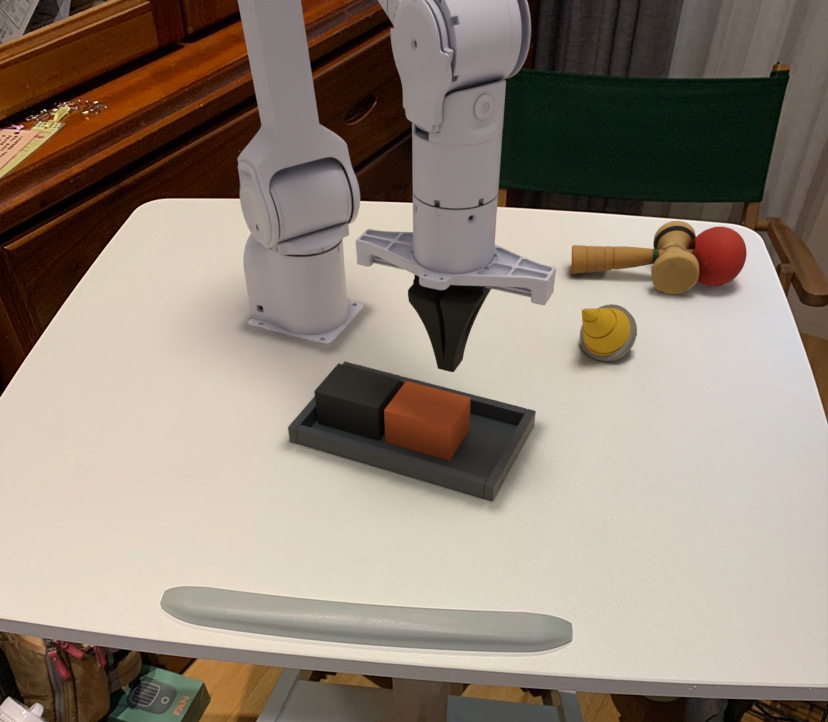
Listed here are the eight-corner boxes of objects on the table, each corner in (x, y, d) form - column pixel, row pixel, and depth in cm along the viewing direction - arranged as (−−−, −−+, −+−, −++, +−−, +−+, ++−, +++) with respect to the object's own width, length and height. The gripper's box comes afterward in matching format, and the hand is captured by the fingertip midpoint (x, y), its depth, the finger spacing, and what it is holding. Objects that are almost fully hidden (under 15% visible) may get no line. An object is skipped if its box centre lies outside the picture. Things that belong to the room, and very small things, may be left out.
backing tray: (290, 445, 71) (287, 427, 70) (346, 378, 78) (344, 360, 76) (492, 505, 66) (493, 487, 64) (533, 428, 72) (536, 410, 71)
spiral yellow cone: (646, 365, 80) (612, 332, 71) (593, 374, 82) (554, 344, 74) (645, 312, 80) (611, 273, 72) (593, 323, 83) (554, 287, 75)
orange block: (385, 442, 70) (383, 410, 68) (406, 413, 73) (406, 380, 71) (449, 461, 69) (450, 428, 66) (469, 430, 72) (471, 397, 69)
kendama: (570, 304, 89) (747, 296, 85) (570, 244, 85) (755, 233, 81) (572, 281, 95) (737, 272, 91) (572, 224, 91) (744, 212, 87)
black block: (317, 423, 72) (313, 391, 70) (341, 395, 75) (338, 362, 72) (379, 441, 71) (377, 408, 68) (400, 411, 73) (400, 378, 71)
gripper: (330, 196, 54) (344, 369, 64) (540, 237, 50) (520, 415, 60) (377, 156, 58) (383, 324, 68) (574, 191, 54) (550, 364, 64)
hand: (450, 363), depth 65 cm, fingers closed
